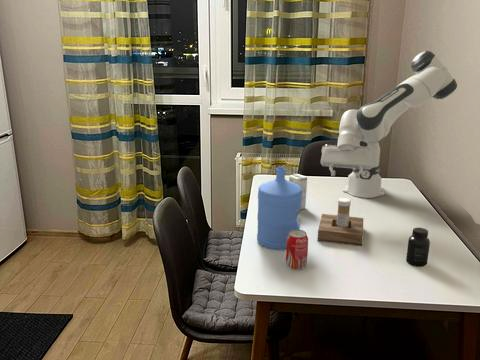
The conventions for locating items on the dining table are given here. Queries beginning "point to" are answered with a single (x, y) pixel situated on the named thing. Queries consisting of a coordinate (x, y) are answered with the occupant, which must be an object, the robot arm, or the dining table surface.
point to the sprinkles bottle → (343, 212)
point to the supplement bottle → (418, 248)
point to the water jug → (277, 211)
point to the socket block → (340, 230)
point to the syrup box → (301, 182)
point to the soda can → (296, 249)
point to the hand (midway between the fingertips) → (345, 176)
